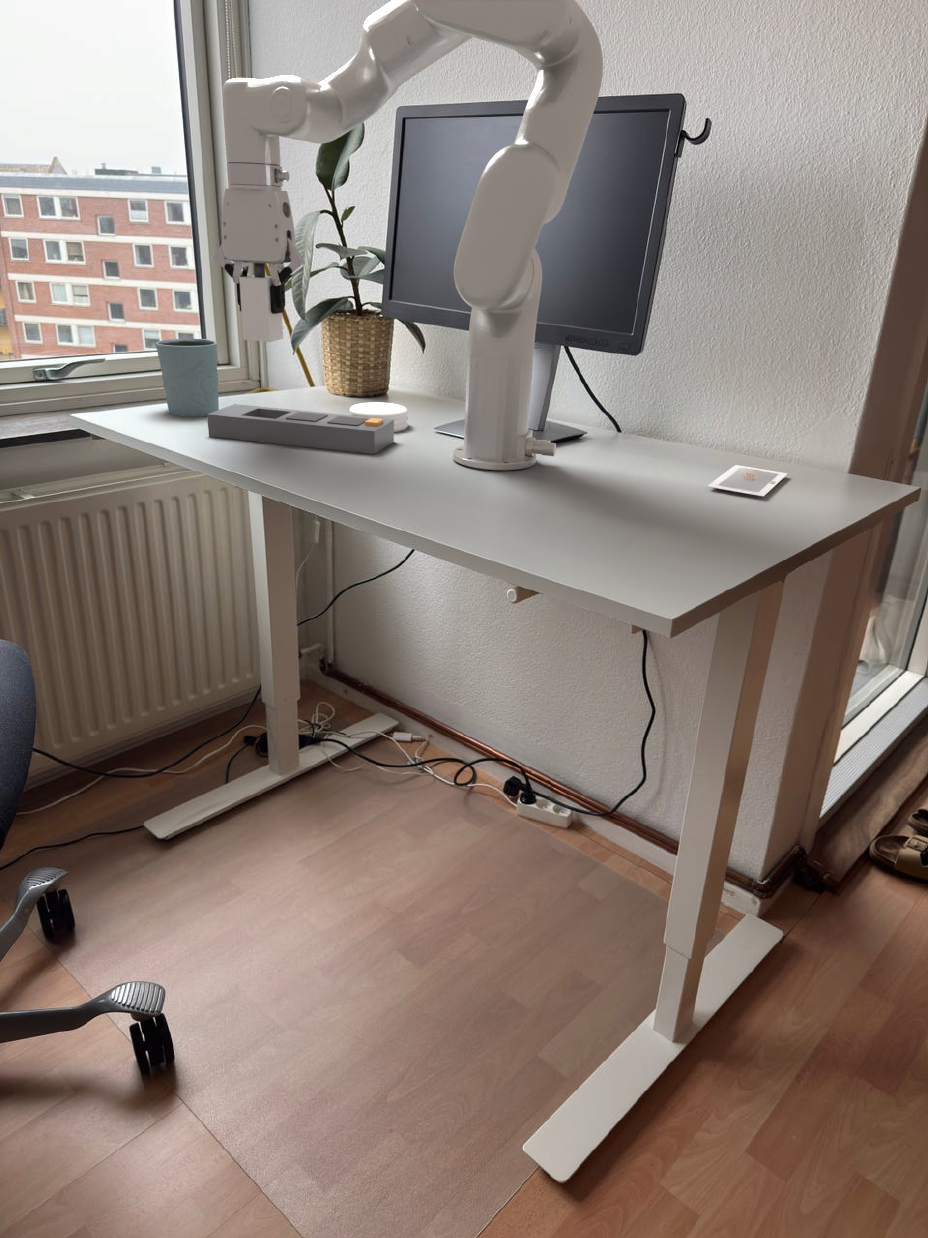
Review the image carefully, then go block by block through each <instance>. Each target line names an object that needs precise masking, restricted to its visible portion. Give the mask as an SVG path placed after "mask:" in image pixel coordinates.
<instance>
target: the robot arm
mask: <svg viewBox="0 0 928 1238" xmlns="http://www.w3.org/2000/svg"><path fill="white" fill-rule="evenodd" d="M362 27H363V28H362V35H361V36H362V37H361V43H360V46H359V48H358V50H357V52H356V53H355V54H354V56H353V57H352V58H351V59H350V60H349V61H348V62H347V63H346V64H345V65H343V66H342V67H341V68H339V69H337V71H336V72H333V73H332V74H331V75H329V76H328V77H326V78H325V79H324V80H321V81H320V82H316V81H312V80H310V79H307V78H303V77H300V76H296V75H287V74H285V75H279V76H274V77H270V78H263V79H259V78H258V79H257V78H249V77H236V78H231V79H228V80H226V81H225V82H224V84H223V86H222V107H223V110H222V111H223V125H224V137H225V138H224V139H225V151H226V152H225V153H226V163H227V164H226V167H227V168H226V169H227V180H228V181H227V182H228V185H227V186H228V188H226V187H225V188H224V192H223V193H224V194H223V200H222V201H223V202H222V210H221V211H222V213H221V214H222V215H221V239H222V242H221V244H220V245H219V247H218V250H217V251H216V253H215V255H214V256H213V260H214V261H215V262H216V263H217V264H218V265H219V266H221V268H223V269H224V271H225V272H226V273H227V274H228V275H229V276H230V277H231V278H232V282H233V283H234V284H236V298H237V300H236V301H237V305H238V306H239V312H241V296H240V280H239V277H245V276H250V270H251V269H250V267H251V263H252V264H254V263H265V265H268V268H269V274H270V277H271V278H272V284H273V285H272V286H270V301H271V313H272V314H278V313H282V314H283V313H284V312H285V311H284V310H285V307H286V285H287V284H288V283H289V280H290V279H291V278H292V277H293V276H294V274H295V273H297V272H298V271H299V270H300V269H302V268H303V267H304V266H305V264H306V263H305V259H304V258H303V257H302V255H301V253H300V252H299V250H298V249H297V246H296V243H297V242H296V235H295V226H294V218H293V212H292V206H291V203H290V197H289V193H288V191H286V190H282V187H283V183H285V182H289V180H290V173H289V171H287V170H283V166H281V150H280V149H281V147H280V137H281V138H286V139H291V140H296V141H301V142H302V141H304V142H309V143H313V144H316V145H317V144H319V145H320V144H326V143H331V142H333V141H335V140H337V139H338V138H341V137H342V136H344V135H346V134H347V133H349V132H351V130H353V129H355V128H356V127H358V126H360V125H361V124H362V123H364V122H366V121H367V120H368V119H370V118H371V117H373V115H375V114H376V113H377V112H378V111H379V110H380V109H382V107H383V106H384V105H385V104H386V103H387V102H388V101H389V100H390V99H391V98H392V97H393V96H394V95H395V94H396V93H397V91H398V89H399V88H400V87H401V86H402V85H403V84H404V83H406V82H407V81H408V80H410V79H412V78H413V77H414V76H416V75H417V74H420V73H421V72H422V71H424V70H426V69H427V68H429V67H430V66H431V65H433V64H434V63H436V62H437V61H439V60H440V59H442V58H444V57H445V56H446V55H449V54H450V53H451V52H453V51H454V50H456V49H458V48H459V47H460V46H462V45H463V44H465V43H466V42H468V41H470V40H471V39H473V38H475V39H478V40H482V41H485V42H488V43H492V44H496V45H498V46H503V47H505V48H507V49H510V50H513V51H515V52H516V53H518V54H519V55H521V57H523V58H525V59H526V60H527V61H529V62H531V63H532V64H533V66H534V68H535V69H536V81H535V85H534V87H533V90H532V92H531V93H530V96H529V98H528V100H527V103H526V106H525V109H524V111H523V116H522V119H521V122H520V126H519V129H518V132H517V134H516V136H515V140H514V142H513V144H510V145H507V146H505V147H503V148H502V149H499V151H497V152H496V153H495V154H493V156H492V157H491V159H490V160H489V161H488V162H487V164H486V165H485V167H484V169H483V172H482V173H481V176H480V177H479V181H478V184H477V187H476V189H475V192H474V193H475V194H474V196H473V199H472V202H471V206H470V209H469V212H468V214H467V218H466V221H465V224H464V228H463V230H462V231H463V232H462V233H461V234H462V235H461V238H460V241H459V244H458V247H457V250H456V254H455V255H456V256H455V259H454V264H453V279H454V280H453V281H454V284H455V288H456V291H457V293H458V294H459V296H460V298H461V299H462V300H463V302H465V303H466V304H467V305H468V306H470V307H471V312H470V319H469V327H468V328H469V329H468V338H467V339H468V343H467V360H466V379H465V380H466V381H465V382H466V384H465V385H466V386H465V387H466V388H465V404H464V405H465V409H464V435H463V445H460V446H458V447H456V448H455V449H454V450H453V452H452V458H453V460H454V461H455V462H456V463H457V464H460V465H463V466H466V467H469V468H474V469H480V470H488V471H490V470H491V471H516V470H523V469H528V468H530V467H532V466H534V465H535V464H536V463H537V455H542V456H546V457H548V456H549V457H555V455H556V449H557V443H556V442H555V443H554V442H551V440H546V439H536V437H533V429H529V420H530V408H531V407H530V406H531V393H532V377H533V367H534V366H533V365H534V356H535V355H534V354H535V343H536V342H535V341H536V331H537V320H538V314H539V307H540V299H541V293H542V286H543V266H542V261H541V259H540V256H539V253H538V251H537V250H536V245H537V243H538V240H539V237H540V234H541V232H542V229H543V227H544V225H546V224H548V223H549V222H551V221H552V220H553V219H554V218H555V217H556V216H557V215H558V214H559V212H560V211H561V209H562V207H563V205H564V202H565V201H566V199H565V198H566V196H567V193H568V190H569V186H570V182H571V179H572V177H573V173H574V171H575V168H576V165H577V162H578V159H579V157H580V154H581V151H582V148H583V145H584V142H585V139H586V135H587V132H588V130H589V126H590V123H591V120H592V118H593V114H594V111H595V110H596V109H595V108H596V106H597V102H598V99H599V96H600V92H601V86H602V81H603V76H604V75H603V74H604V59H603V58H604V57H603V51H602V45H601V43H600V38H599V35H598V33H597V31H596V29H595V27H594V26H593V24H592V22H591V21H590V18H588V16H587V14H586V12H585V11H584V10H583V9H582V7H581V6H580V5H579V3H578V2H577V1H576V0H391V1H390V2H388V3H386V4H385V5H383V6H382V7H381V8H379V9H378V10H376V11H375V12H373V13H371V15H369V16H368V17H367V18H366V20H365V21H364V23H363V26H362ZM288 263H289V264H288ZM285 264H287V265H286V266H285Z"/></svg>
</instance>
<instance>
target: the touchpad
mask: <svg viewBox="0 0 928 1238" xmlns="http://www.w3.org/2000/svg"><path fill="white" fill-rule="evenodd" d="M787 475H788V473H786V472H781V471H776V470H775V471H774V470H768V469H762V468H757V467H749V466H745V465H738V464H735V465H733V466H732V467H731V468H729V469H728V470H727V471H725V472H724V473H722V474H721V475H720V476H718V477H717V478H716V479H715V480H713V481H711V483H709V484H707V487H709V488H714V489H719V490H725V491H731V492H735V493H736V492H737V493H741V494H746V495H747V494H748V495H753V496H758V497H765V496H766V495H767V494H768V493H769V492H770V491H771V490H772V489H774V488H775V487H776V486H777V484H778V483H780V482H781V481H782V480H783V479H784V478H785V477H786V476H787Z"/></svg>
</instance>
